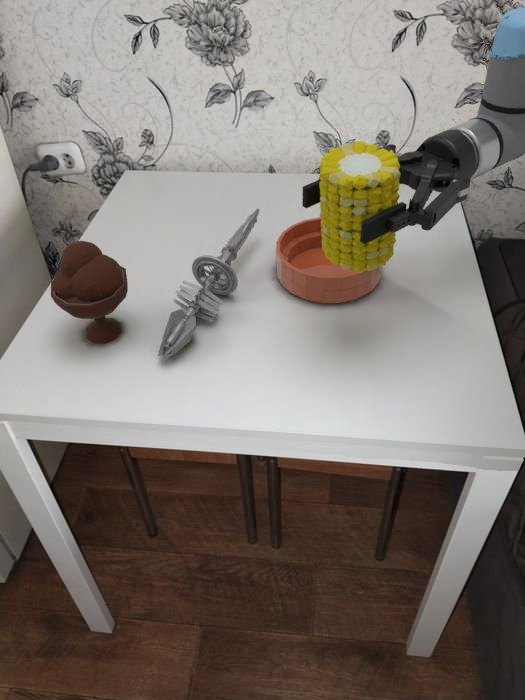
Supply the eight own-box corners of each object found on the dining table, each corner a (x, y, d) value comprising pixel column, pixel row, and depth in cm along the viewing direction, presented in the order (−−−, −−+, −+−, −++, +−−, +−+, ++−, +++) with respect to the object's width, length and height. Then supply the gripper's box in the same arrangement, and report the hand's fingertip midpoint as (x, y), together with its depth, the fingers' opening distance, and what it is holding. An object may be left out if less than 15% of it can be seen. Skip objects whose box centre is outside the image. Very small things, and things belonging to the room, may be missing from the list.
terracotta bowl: (398, 265, 100) (403, 237, 96) (344, 320, 90) (347, 291, 86) (314, 233, 108) (315, 206, 104) (256, 280, 98) (254, 253, 94)
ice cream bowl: (53, 346, 88) (21, 264, 78) (95, 302, 95) (70, 221, 85) (113, 364, 85) (88, 281, 75) (152, 316, 92) (134, 234, 82)
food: (403, 262, 79) (350, 297, 75) (343, 211, 84) (289, 242, 79) (440, 170, 66) (379, 206, 62) (367, 117, 71) (305, 147, 67)
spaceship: (284, 204, 100) (243, 182, 100) (192, 354, 80) (140, 326, 80) (271, 235, 106) (232, 214, 106) (182, 381, 86) (134, 356, 86)
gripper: (519, 214, 76) (398, 283, 66) (391, 154, 89) (275, 205, 80) (536, 159, 71) (407, 226, 61) (397, 104, 84) (274, 152, 74)
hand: (332, 214), depth 70 cm, fingers closed on food, 10 cm apart
